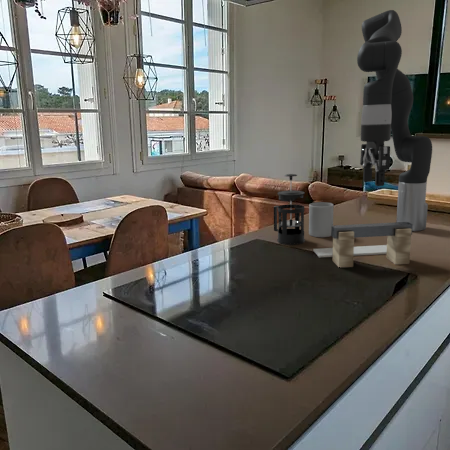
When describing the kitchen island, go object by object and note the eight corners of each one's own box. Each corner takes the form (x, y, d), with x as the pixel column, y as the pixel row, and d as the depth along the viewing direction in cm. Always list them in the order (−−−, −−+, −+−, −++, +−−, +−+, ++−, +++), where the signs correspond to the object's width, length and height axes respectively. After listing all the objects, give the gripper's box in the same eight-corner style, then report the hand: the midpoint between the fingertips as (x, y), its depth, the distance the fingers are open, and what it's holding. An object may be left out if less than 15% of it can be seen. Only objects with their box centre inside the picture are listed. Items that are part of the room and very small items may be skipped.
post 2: (399, 257, 125) (401, 224, 122) (409, 263, 119) (411, 229, 116) (386, 257, 124) (388, 224, 122) (395, 264, 119) (397, 229, 116)
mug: (333, 237, 148) (334, 206, 145) (308, 237, 149) (309, 206, 147) (331, 229, 159) (332, 200, 156) (308, 228, 161) (309, 200, 158)
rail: (406, 231, 121) (407, 221, 121) (412, 234, 118) (412, 224, 118) (331, 235, 120) (331, 225, 120) (334, 238, 118) (334, 228, 117)
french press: (311, 239, 146) (312, 173, 140) (298, 246, 139) (298, 176, 133) (282, 235, 153) (281, 171, 148) (267, 241, 146) (266, 175, 140)
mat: (393, 246, 135) (394, 244, 135) (404, 252, 128) (404, 251, 128) (313, 250, 134) (313, 248, 134) (319, 257, 127) (319, 255, 127)
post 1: (346, 259, 124) (347, 226, 122) (353, 266, 118) (354, 232, 116) (332, 260, 124) (333, 227, 121) (338, 267, 118) (339, 232, 116)
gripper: (402, 122, 105) (398, 186, 109) (379, 122, 119) (376, 179, 123) (372, 123, 105) (369, 188, 109) (352, 123, 119) (350, 180, 123)
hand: (373, 183), depth 116 cm, fingers open, 8 cm apart
